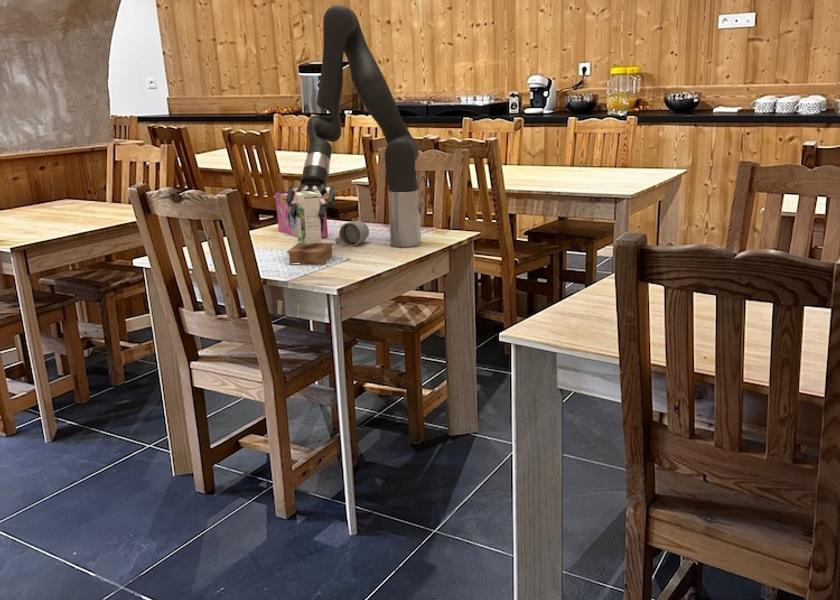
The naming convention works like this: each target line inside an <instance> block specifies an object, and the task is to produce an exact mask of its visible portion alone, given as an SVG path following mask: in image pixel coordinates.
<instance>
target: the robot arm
mask: <svg viewBox="0 0 840 600" xmlns="http://www.w3.org/2000/svg"><path fill="white" fill-rule="evenodd" d="M322 24H323V25H322V27H323V30H322V31H323V32H322V33H323V43H322V44H323V46H322V47H323V49H322V60H321V61H322V62H321V71H320V77H319V84H318V89H317V90H318V91H317V97H316V105H317V106H318V107H319V108H320V109H323V110H326V111H328V113H330V115H331V117H329V116H328V117H327V116H322V115H318V114H316V115H313V116H311V117H310V118H309V119H308V121H307V125H306V126H307V127H306V128H307V131H306V132H307V137H308V148H307V149H308V151H307V155H306V159H305V160H304V165H303V168H302V169H303V170H302V175H301V179H300V185H299V186H298V187H294V186H293V185H289V186H288V188H287V189H288V190H287V191H288V194H287V198H286V202H287V204H288V206H289V207H291V210H290V215H291V217H292V218H293V219H296V198H295V199H294V195H295V193H297V192H305V191H311V192H314V193H317V194H319V202H320V203H321V205H320V210H319V218H320V219H323V217H325V214H326V215H327V209H328V208H333V207H334V205H335V199H336V193H337V191H336V189H335V186H334V185H330V186H329V187H327V185H328V179H329V174H330V165H331V163H330V162H331V158H332V151H333V147H332V145H331V143H335V142H338V140H340V138H341V136H342V132H343V131H342V123H341V121H342V120H341V115H340V114H341V112H340V107H341V100H342V93H343V85H344V66H343V65H344V54H345V57H346V59H347V63H348V66H349V71H350V75H351V79H352V82H353V85H354V88H355V90H356V93H357V95H358V96H359V99H360V101H361V103H362V104H363V106H364V108H365V109H366V111H367V112H368V113H369V115H370V116H371V117H372V119H373V120H374V121H375V122H376V123H377V125H378V126H379V129H380V130H381V132H382V134H383V136H384V139H385V141H386V144H387V145H386V148H385V149H384V165H385V179H386V183H387V189H388V190H387V191H388V193H387V194H388V210H389V211H388V213H389V217H388V219H389V235H390V237H389V239H390V242H389V243H390V246H392V247H396V248H410V247H419V246H420V245H421V243H422V241H421V239H422V237H421V234H422V233H421V213H420V212H419V211H420V209H419V185H418V184H419V182H418V180H417V177H416V161H417V159H418V157H419V147H418V144H417V143H416V142H417V141H415V139H414V137H413V136H412V134H411V132H410V131H409V128H408V127H407V126H406V124H405V122H404V120H403V119H402V116H401V114H400V111H399V109H398V106H397V104H396V101H395V99H394V97H393V94H392V92H391V90H390V87H389V85H388V83H387V81H386V79H385V77H384V75H383V73H382V70H381V69H380V67H379V65H378V62H377V61H376V59H375V58H374V55H373V54H372V51H371V50H370V48H369V46H368V44H367V42H366V39H365V36H364V34H363V30H362V27H361V24H360V22H359V19H358V16H357V15H356V13H355V12H354V10H352V9H351V8H349V7H346V6H344V5H339V4H337V5H336V4H335V5H331V6H330V7H329V8H328V9H327V10H326V11H325V12H324V16H323V22H322ZM330 142H331V143H330ZM326 194H328V197H327V200H326V199H325V200H324V199H323V197H324V195H326ZM293 199H294V200H293ZM420 242H421V243H420Z"/></svg>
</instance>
